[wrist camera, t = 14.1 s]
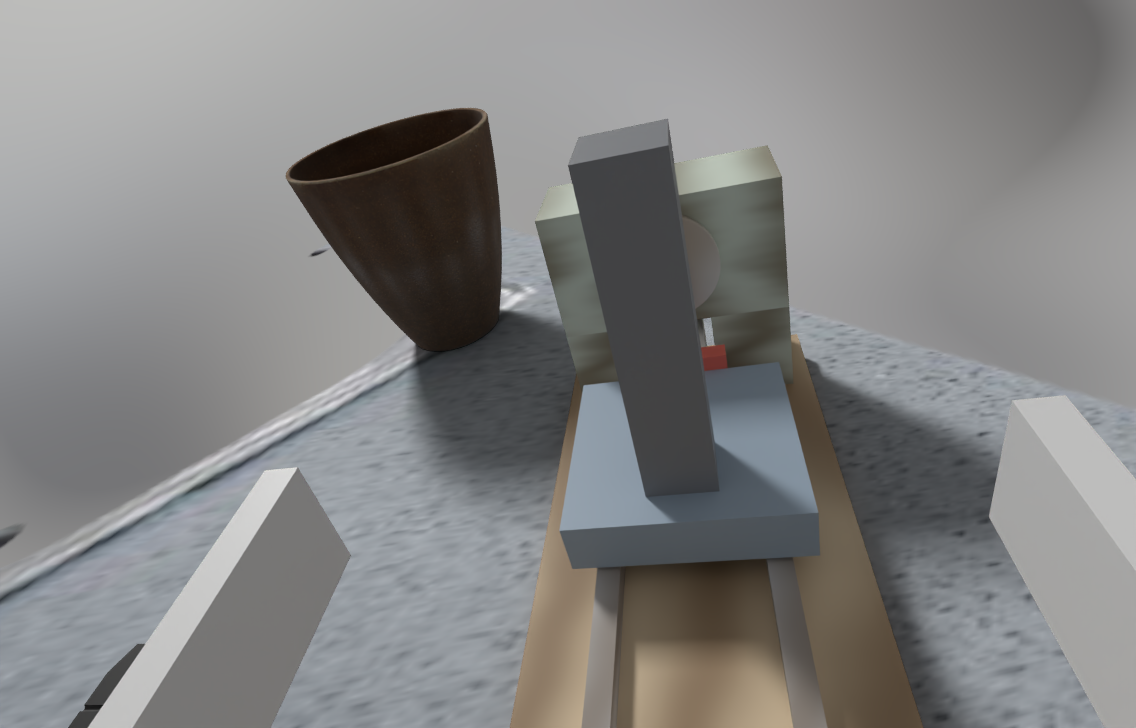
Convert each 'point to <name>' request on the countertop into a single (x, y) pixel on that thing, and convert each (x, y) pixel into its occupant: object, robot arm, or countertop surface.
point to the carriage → (670, 393)
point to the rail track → (719, 588)
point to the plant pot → (415, 221)
